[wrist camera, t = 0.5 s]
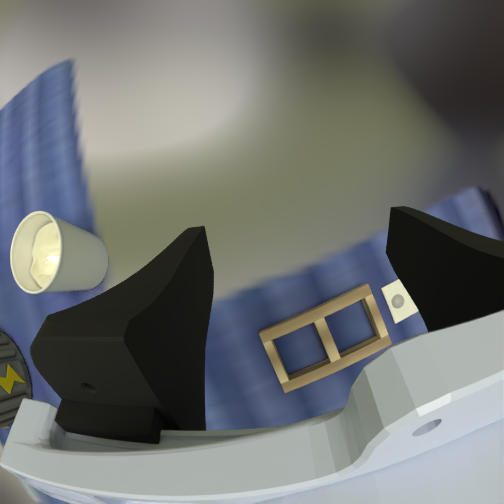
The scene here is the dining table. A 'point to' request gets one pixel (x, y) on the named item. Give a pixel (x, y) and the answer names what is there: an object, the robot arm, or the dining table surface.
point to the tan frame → (326, 338)
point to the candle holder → (56, 256)
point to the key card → (398, 301)
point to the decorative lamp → (11, 381)
